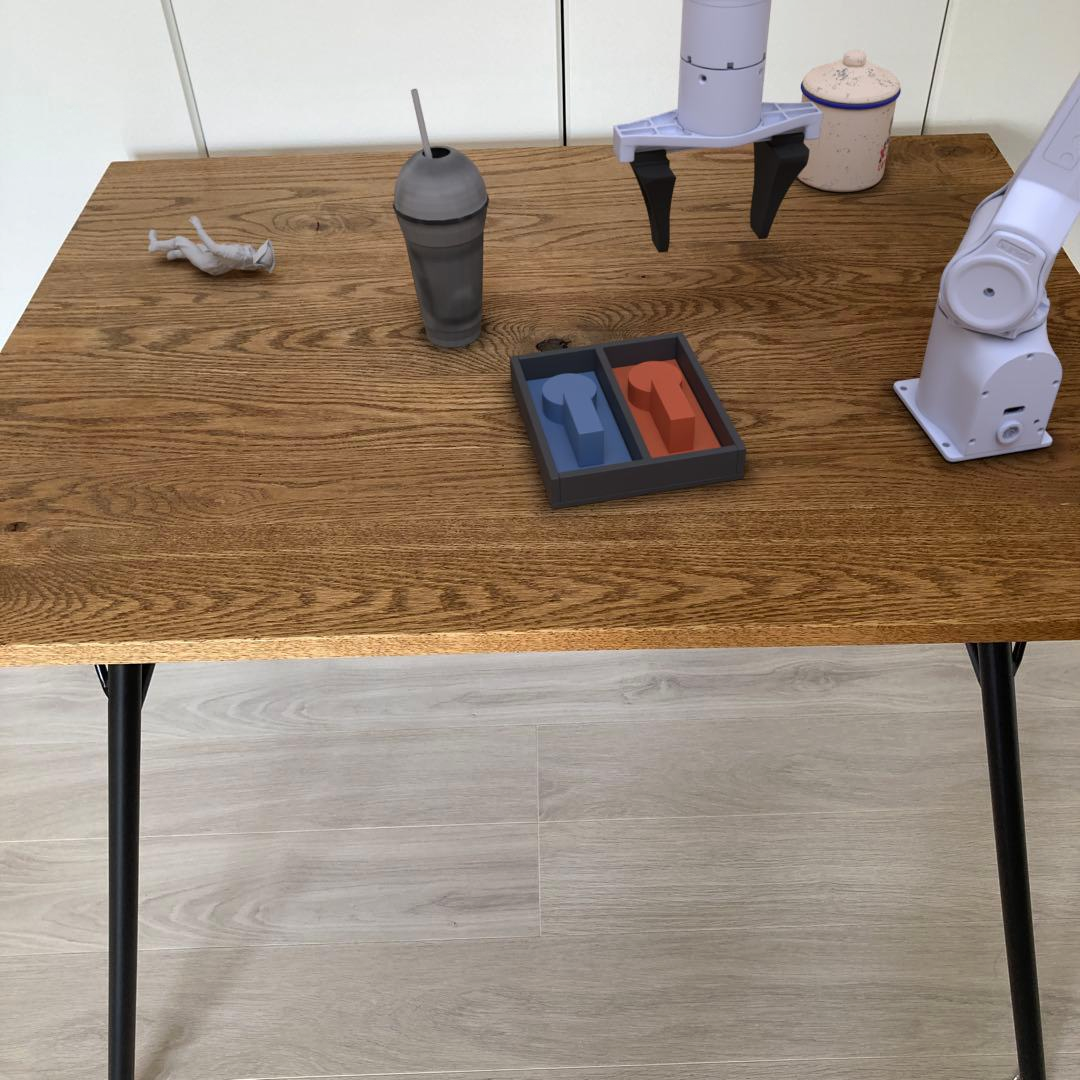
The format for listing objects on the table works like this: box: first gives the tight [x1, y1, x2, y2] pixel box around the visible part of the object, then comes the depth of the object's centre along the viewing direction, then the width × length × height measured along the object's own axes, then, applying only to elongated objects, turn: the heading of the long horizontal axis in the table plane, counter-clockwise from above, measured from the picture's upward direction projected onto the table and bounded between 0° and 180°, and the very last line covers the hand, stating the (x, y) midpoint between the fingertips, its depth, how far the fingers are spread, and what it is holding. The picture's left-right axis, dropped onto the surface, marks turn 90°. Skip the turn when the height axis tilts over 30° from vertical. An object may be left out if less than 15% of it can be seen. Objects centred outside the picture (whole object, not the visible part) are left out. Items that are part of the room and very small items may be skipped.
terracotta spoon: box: [628, 361, 695, 453], centre depth 85 cm, size 9×4×3 cm, turn 12°
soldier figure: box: [148, 215, 276, 276], centre depth 104 cm, size 8×5×12 cm
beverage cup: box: [392, 88, 490, 348], centre depth 90 cm, size 7×7×20 cm
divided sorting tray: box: [509, 331, 747, 510], centre depth 86 cm, size 15×14×3 cm
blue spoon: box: [542, 373, 604, 467], centre depth 85 cm, size 9×4×3 cm, turn 12°
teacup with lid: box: [797, 49, 902, 193], centre depth 113 cm, size 12×9×12 cm
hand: (709, 239), depth 88 cm, fingers open, 7 cm apart
